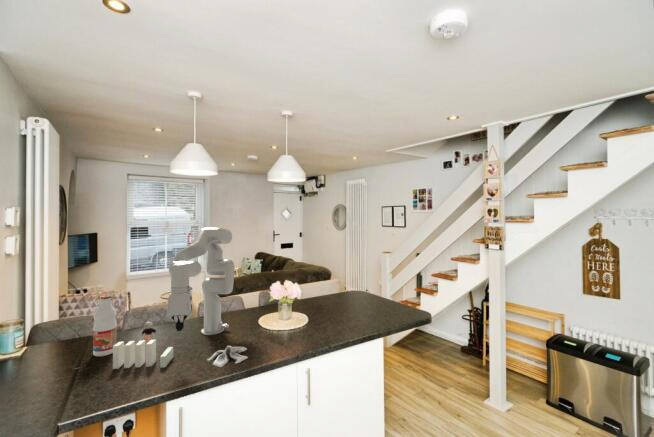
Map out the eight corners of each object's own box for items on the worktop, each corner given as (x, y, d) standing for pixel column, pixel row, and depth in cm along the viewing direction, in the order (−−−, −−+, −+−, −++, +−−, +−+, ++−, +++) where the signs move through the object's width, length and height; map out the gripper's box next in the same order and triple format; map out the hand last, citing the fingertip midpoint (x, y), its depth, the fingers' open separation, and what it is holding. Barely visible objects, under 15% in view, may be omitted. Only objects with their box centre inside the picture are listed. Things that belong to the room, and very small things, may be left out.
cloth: (244, 346, 157) (244, 334, 157) (254, 360, 140) (254, 347, 140) (198, 355, 146) (198, 343, 146) (203, 372, 129) (203, 358, 129)
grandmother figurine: (139, 348, 152) (139, 323, 152) (140, 346, 156) (140, 321, 156) (157, 345, 156) (157, 321, 156) (157, 343, 159) (157, 319, 159)
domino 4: (156, 361, 139) (156, 339, 139) (151, 366, 134) (151, 343, 134) (150, 361, 139) (150, 339, 139) (146, 366, 134) (146, 344, 134)
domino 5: (173, 346, 143) (165, 356, 133) (173, 357, 143) (165, 367, 133) (168, 347, 143) (160, 356, 133) (168, 357, 143) (160, 367, 133)
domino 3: (145, 361, 138) (145, 340, 138) (140, 367, 133) (140, 344, 133) (140, 362, 138) (140, 340, 138) (135, 367, 133) (135, 344, 133)
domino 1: (124, 363, 137) (124, 341, 137) (118, 368, 132) (118, 345, 132) (119, 363, 137) (119, 341, 137) (112, 368, 132) (112, 346, 132)
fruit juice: (121, 350, 151) (121, 294, 151) (101, 358, 142) (101, 299, 142) (108, 347, 154) (108, 292, 154) (88, 354, 145) (88, 297, 146)
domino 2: (135, 362, 138) (135, 340, 138) (129, 367, 133) (129, 345, 133) (129, 362, 137) (129, 341, 137) (124, 368, 132) (124, 345, 132)
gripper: (199, 288, 143) (199, 326, 143) (165, 289, 141) (165, 328, 140) (194, 291, 136) (194, 332, 135) (159, 292, 133) (159, 334, 133)
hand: (179, 330), depth 138 cm, fingers closed
